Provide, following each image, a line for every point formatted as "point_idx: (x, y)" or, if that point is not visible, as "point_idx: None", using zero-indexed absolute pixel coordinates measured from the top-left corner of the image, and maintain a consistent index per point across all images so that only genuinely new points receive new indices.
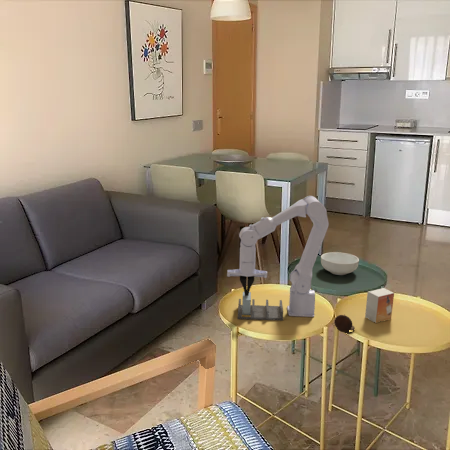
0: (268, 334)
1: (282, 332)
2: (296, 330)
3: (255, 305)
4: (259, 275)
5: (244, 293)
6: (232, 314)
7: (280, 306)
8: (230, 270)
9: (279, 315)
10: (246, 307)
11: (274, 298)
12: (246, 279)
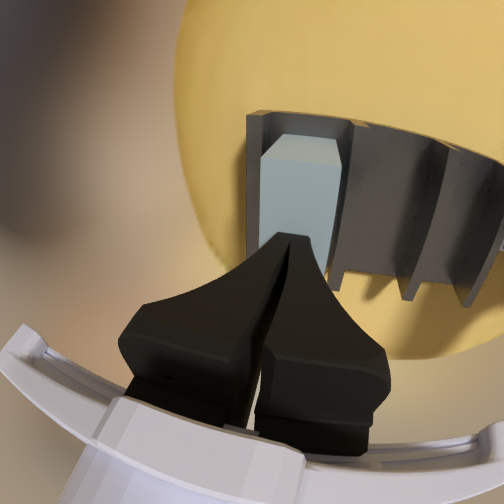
0: None
1: (411, 346)
2: (457, 337)
3: (370, 125)
4: (418, 465)
5: (276, 195)
6: (230, 199)
7: (488, 255)
8: (12, 376)
9: (458, 262)
10: None
11: (479, 27)
12: (248, 384)
